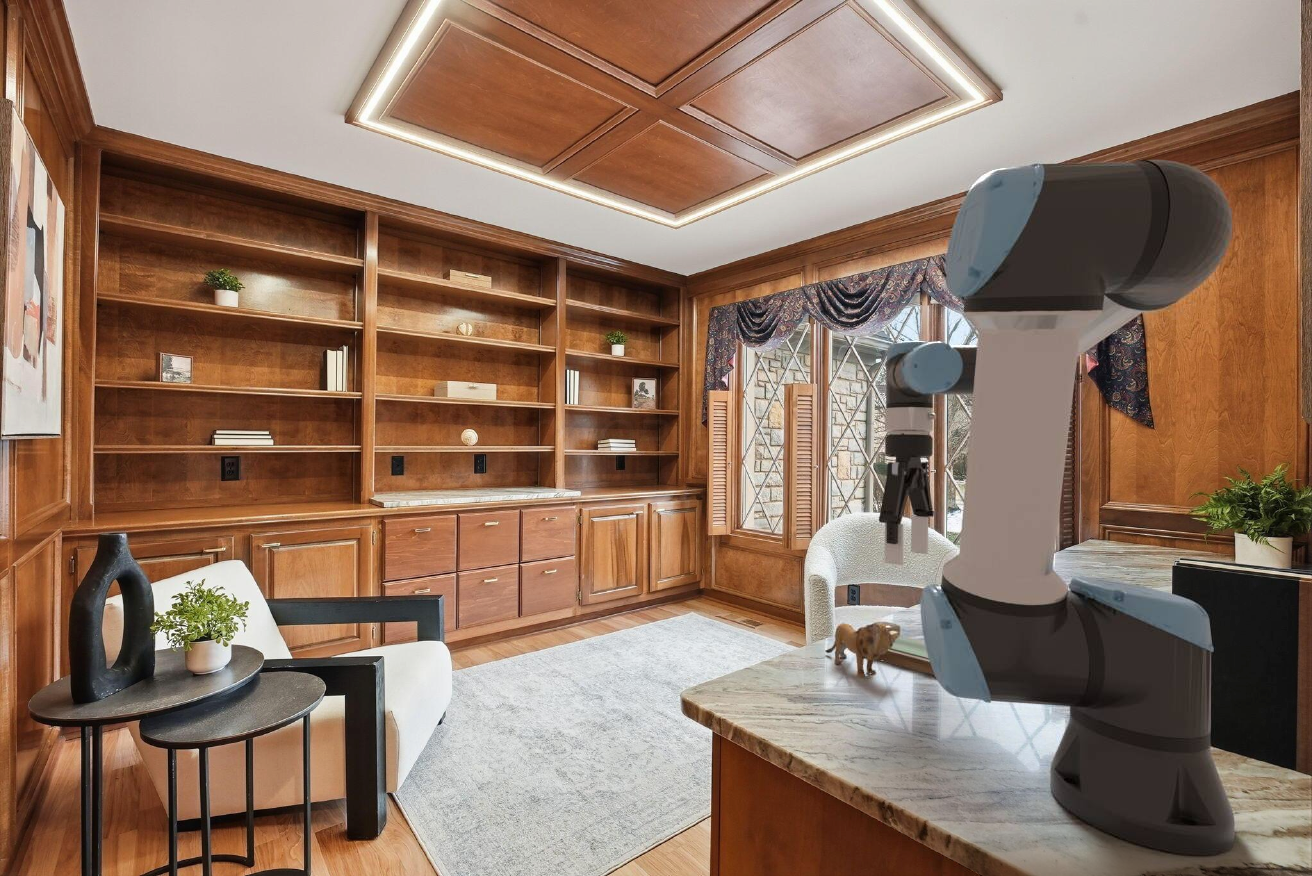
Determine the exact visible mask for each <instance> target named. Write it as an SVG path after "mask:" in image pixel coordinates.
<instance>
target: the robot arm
mask: <svg viewBox="0 0 1312 876" xmlns="http://www.w3.org/2000/svg"><path fill="white" fill-rule="evenodd" d="M1233 227H1234V225H1233V215H1232V209H1231V206H1230V203H1229V200H1228V197H1227V196H1226V194H1225V193H1224V191H1223V189H1222V188H1221V187H1220V185H1219V184H1218V183H1217V182H1216V181H1215V180H1214V179H1213V178H1212V177H1210V176H1209V175H1207V174H1206V173H1205V172H1203V171H1201V170H1199V168H1196V167H1194V166H1192V165H1188V164H1185V163H1182V162H1178V161H1174V160H1173V161H1171V160H1165V159H1147V160H1146V159H1143V160H1137V161H1114V162H1113V161H1110V162H1109V161H1108V162H1105V161H1104V162H1071V163H1068V162H1067V163H1065V162H1064V163H1032V164H1028V165H1022V166H1015V167H1006V168H999V169H994V170H991V171H989V172H988V173H986V174H984V175H982V176H981V177H979V179H977V180H976V182H975V183H974V184H972V186H971V187H970V189H969V190H968V191H967V194H966V195H965V197H964V199H963V200H962V204H961V205H960V208H959V210H958V213H957V215H956V217H955V220H954V223H953V226H952V228H951V233H950V237H949V240H948V246H947V250H946V258H945V268H944V272H945V275H946V276H945V285H946V289H947V290H948V293H950V294H951V295H952V296H955V297H957V298H959V299H963V298H964V300H963V313H962V315H963V317H965V318H966V320H967V321H968V322H969V323H970V324H971V325H973V327H975V330H976V331H977V334H978V335H977V342H976V343H977V345H950V344H948V343H946V342H943V341H930V342H928V341H922V340H908V341H899V342H896V343H895V342H894V343H891V344H890V345H889V346H888V347H887V350H886V360H885V363H884V366H885V375H886V376H885V378H886V379H885V411H884V413H885V414H884V415H885V419H884V421H885V422H884V423H885V424H884V430H885V431H886V432H888V434H887V435H886V436H885V437H884V439H885V440H884V443H885V444H884V445H885V447H884V453H885V455H886V456H887V457H895V460H894V461H895V462H894V461H893V462H892V461H889V462H887V464H886V465H887V467H886V468H887V470H886V472H887V473H886V480H885V485H884V490H883V496H882V500H881V501H882V502H881V506H880V512H879V516H878V522H879V523H883V524H884V563H885V564H891V565H899V566H902V565H903V564H904V523H902V519H903V516H904V511H905V508H906V505H907V502H908V498H909V501H910V506H911V509H912V513H913V515H912V516H911V520H910V521H911V523H910V524H911V525H910V530H911V531H910V533H911V534H910V553H915V554H922V555H928V554H929V517H932V518H933V517H934V514H935V513H934V512H935V511H934V510H933V503H932V494H931V489H930V481H929V475H928V474H929V473H928V472H929V471H928V469H929V468H928V465H929V464H928V461H923V460H922V459H921V458H929V457H932V456H933V449H934V447H933V441H934V440H933V439H934V438H933V437H932V435H931V434H929V433H931V432H932V431H933V424H934V423H933V420H936V418H937V415H936V413H933V411H934V409H933V408H934V395H946V396H947V395H950V396H951V395H956V396H958V395H959V396H961V395H966V396H967V395H968V396H969V395H972V401H971V402H972V403H971V414H970V416H971V417H970V424H969V425H970V427H969V428H970V429H969V438H968V439H969V440H968V451H967V463H966V473H965V486H964V496H963V507H962V509H963V510H962V511H963V512H962V519H961V533H960V543H959V544H960V545H959V553H958V555H956V556H954V557H952V558H951V559H949V560H947V561H946V562H945V563H944V565H943V567H942V572H941V573H942V574H941V583H940V585H938V583H933V584H930V585H926V586H924V588H923V589H922V594H921V595H920V620H921V621H920V622H921V627H922V633H923V634H922V635H923V640H924V642H925V645H926V649H927V653H928V657H929V660H930V663H931V666H932V669H933V672H934V674H935V675H934V676H935V678H936V680H937V682H938V684H939V685H940V686H941V688H942V689H943V690H945V692H947V693H948V694H949V695H951V696H953V697H956V698H962V699H969V700H970V699H971V700H980V701H983V702H984V703H986V704H987V703H989V704H991V702H1000V703H1002V702H1004V703H1015V704H1016V703H1018V704H1029V705H1030V704H1032V705H1033V704H1034V705H1043V706H1044V705H1046V706H1059V707H1061V706H1062V707H1069V719H1068V723H1067V725H1066V728H1065V731H1064V733H1063V735H1062V737H1061V739H1060V742H1059V745H1058V746H1057V749H1056V751H1055V754H1054V756H1053V758H1052V760H1051V764H1050V769H1049V771H1050V776H1049V777H1050V780H1049V782H1050V783H1049V785H1050V791H1051V793H1052V796H1053V797H1054V798H1055V799H1056V800H1057V801H1058V803H1059V804H1061V806H1062V807H1064V808H1065V809H1066V811H1067V810H1068V811H1069V812H1070V813H1071V814H1073V815H1074V816H1076V817H1077V818H1079V819H1080V820H1082V821H1083V822H1085V823H1087V824H1090V825H1091V826H1093V827H1095V828H1097V829H1098V830H1101V831H1102V832H1105V833H1108V834H1110V835H1112V836H1115V837H1117V838H1118V839H1119V838H1120V839H1123V840H1125V841H1128V842H1131V843H1134V844H1138V845H1140V846H1144V847H1147V848H1151V849H1155V850H1160V851H1164V852H1168V853H1169V852H1170V853H1174V854H1183V855H1194V856H1207V855H1216V854H1221V853H1223V852H1226V851H1228V850H1230V849H1231V848H1232V847H1233V846H1234V844H1235V834H1236V833H1235V832H1236V831H1235V829H1236V828H1235V825H1236V824H1235V821H1236V820H1235V816H1234V812H1233V809H1232V805H1231V804H1230V800H1229V798H1228V795H1227V793H1226V790H1225V788H1224V784H1223V782H1222V779H1221V777H1220V774H1219V772H1218V769H1217V766H1216V763H1215V762H1214V759H1213V755H1212V751H1211V750H1212V749H1211V730H1212V729H1211V725H1212V723H1211V722H1212V721H1211V719H1212V717H1211V716H1212V714H1211V713H1212V711H1211V710H1212V709H1211V707H1212V705H1211V704H1212V703H1211V700H1212V696H1211V695H1212V693H1211V692H1212V688H1211V687H1212V653H1213V652H1214V649H1215V648H1214V646H1213V642H1212V633H1211V625H1210V624H1211V623H1210V617H1209V614H1208V613H1207V612H1206V610H1205V609H1204V608H1203V607H1202V605H1200V604H1199V603H1197V602H1195V601H1193V600H1191V599H1188V598H1187V597H1186V598H1185V597H1183V596H1180V595H1177V594H1173V593H1170V592H1166V591H1162V590H1159V589H1154V588H1152V587H1146V586H1142V585H1138V584H1133V583H1129V582H1123V581H1117V580H1111V579H1107V578H1099V577H1092V576H1074V577H1073V578H1071V580H1070V583H1069V584H1067V583H1066V582H1065V581H1064V580H1063V578H1062V577H1060V575H1059V574H1058V573H1057V572H1056V571H1055V570H1054V560H1055V549H1056V541H1057V534H1058V526H1059V517H1060V507H1061V500H1062V492H1063V482H1064V474H1065V473H1064V472H1065V465H1066V458H1067V456H1066V455H1067V450H1068V449H1067V447H1068V440H1069V439H1068V438H1069V431H1070V424H1071V416H1072V415H1071V413H1072V407H1073V398H1074V397H1073V396H1074V389H1075V379H1076V371H1077V363H1078V357H1080V356H1081V355H1083V353H1085V352H1087V351H1088V350H1090V349H1091V348H1093V347H1095V345H1097V344H1099V343H1100V342H1102V341H1103V340H1104V339H1106V338H1107V337H1109V336H1111V334H1113V333H1115V332H1116V331H1117V330H1119V329H1121V328H1122V327H1123V326H1124V325H1126V324H1128V323H1130V322H1131V321H1132V320H1133V319H1135V318H1137V317H1138V316H1139V315H1141V314H1143V313H1148V312H1149V313H1151V312H1156V311H1160V310H1163V309H1166V308H1168V307H1170V306H1172V305H1175V304H1176V303H1178V302H1179V301H1180V300H1182V299H1183V298H1184V297H1186V296H1188V295H1189V294H1191V293H1192V292H1193V291H1194V290H1196V289H1197V288H1199V286H1201V285H1202V284H1203V283H1204V282H1206V281H1207V280H1208V279H1209V277H1211V276H1212V274H1213V273H1214V272H1215V271H1216V270H1217V269H1218V267H1219V265H1220V264H1221V263H1222V261H1223V259H1224V256H1225V255H1226V252H1227V251H1228V248H1229V246H1230V242H1231V240H1232V235H1233V234H1232V233H1233Z"/></svg>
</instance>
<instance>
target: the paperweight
mask: <svg viewBox="0 0 1312 876" xmlns="http://www.w3.org/2000/svg"><path fill="white" fill-rule="evenodd" d="M875 623H883V624H885V625H886V627H887V629H888V631H889V632H890V631H896V632H898V636H901V625H899V624H897V623H893V622H890V621H889V622H888V621H877V622H876V621H875V622H873V623H872V624H875Z"/></svg>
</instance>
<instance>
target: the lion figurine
mask: <svg viewBox="0 0 1312 876" xmlns="http://www.w3.org/2000/svg"><path fill="white" fill-rule="evenodd" d="M874 623H875V622H874ZM834 637H835V639H834V643H833V645H832V646H831V648H827V649H826V650H825V653H827V654H831V653H832V652H833V651H835V652H834V665H837V664H839V665H842V661H841V659H840V658H842V659H846V658H847V654H846V653H845V651H846V649H847V650H848V651H849V652H851V653H853V654H855V659H856V666H857V667H856V668H857V671H856V675H857V677H858V676H860V677H859V678H865V677H866V674H865V670H864V660H866V672H867V674H869V673H871V674H870V675H876V673H877V671H876V669H873V665H874V661H876V660H877V659H878V658H879V657H880V655H883V654H885V653H886V652H887V651H888V649H889V648H892V646H893V644H894V643H895V639H896V638H895V637H894V636H893V635H891V634H890V632H889V631H888V629H887V627H886V625H885V624H883V623H875V624H873V623H871V624H867V625H866V626H860V627H859V628H858V629H857V630H855V629H854V628H853V626H852V625H850V624H849V623H845V622H843V623H840V624H839V625H837V626H836V629H835V633H834Z"/></svg>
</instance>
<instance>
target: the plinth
mask: <svg viewBox="0 0 1312 876" xmlns="http://www.w3.org/2000/svg"><path fill="white" fill-rule="evenodd" d="M890 634H891V635H893V636H894V637H895V638H896V639H895V643H894V644H893V646H892V648H889V649H888V651H887V652H886V653H885V654H883V655H880V657H879V658H878V659H879V660H878V661H881V660H883V661H882V662H885V663H888V662H889V663H888V664H892V665H895V664H897V665H896V666H899V665H901V666H900V667H903V668H906V667H908V668H907V669H909V670H913V669H914V670H915V671H918V672H922V673H925V674H929V675H932V676H935V674H934V672H933V669H932V666H931V663H930V660H929V657H928V653H927V649H926V645H925V641H922V640H917V639H912V638H909V637H904V636H901V635H900V636H898V632H896V631H890Z"/></svg>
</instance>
